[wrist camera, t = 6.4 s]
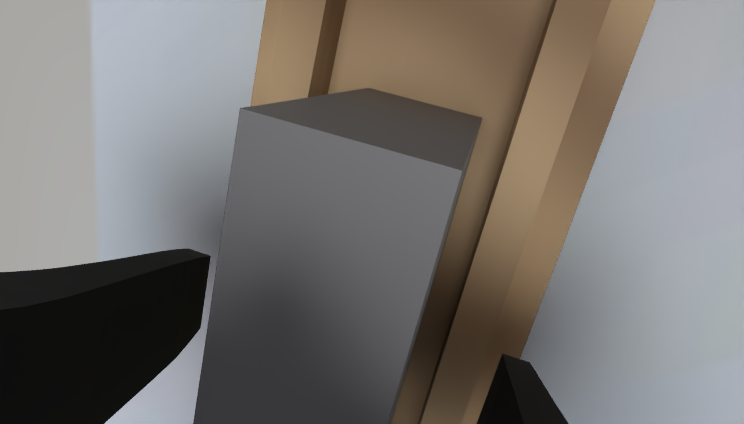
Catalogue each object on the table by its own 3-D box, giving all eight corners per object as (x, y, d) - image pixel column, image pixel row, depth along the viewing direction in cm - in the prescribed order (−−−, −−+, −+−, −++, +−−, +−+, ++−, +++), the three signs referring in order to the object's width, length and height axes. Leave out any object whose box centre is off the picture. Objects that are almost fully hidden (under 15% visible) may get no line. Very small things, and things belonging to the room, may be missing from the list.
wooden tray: (434, 565, 18) (424, 638, 16) (205, 471, 20) (165, 526, 17) (664, -50, 12) (704, -79, 10) (302, -122, 13) (260, -163, 11)
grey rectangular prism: (482, 117, 13) (461, 170, 6) (387, 434, 16) (308, 687, 10) (357, 85, 13) (219, 102, 7) (289, 397, 17) (150, 613, 10)
